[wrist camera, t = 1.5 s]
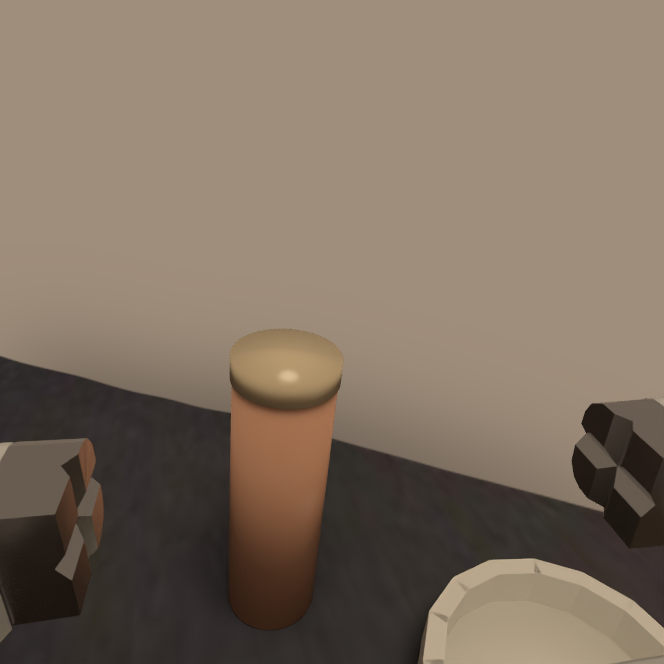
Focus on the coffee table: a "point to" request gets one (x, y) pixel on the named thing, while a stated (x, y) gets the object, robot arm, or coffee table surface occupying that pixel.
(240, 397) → the bead jar
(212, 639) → the coffee table surface
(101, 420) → the coffee table surface
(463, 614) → the round tray
